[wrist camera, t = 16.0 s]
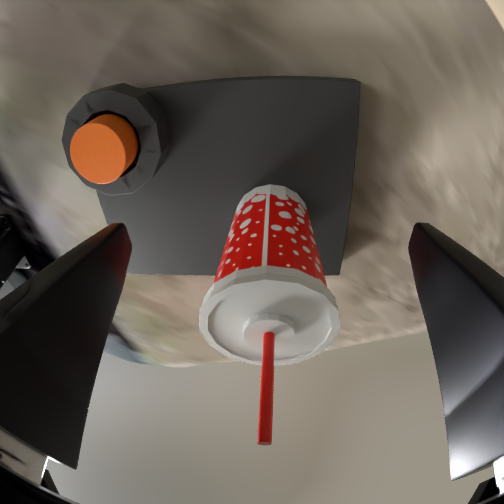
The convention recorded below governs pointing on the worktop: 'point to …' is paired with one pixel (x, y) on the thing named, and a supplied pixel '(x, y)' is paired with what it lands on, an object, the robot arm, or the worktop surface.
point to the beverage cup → (270, 291)
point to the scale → (225, 162)
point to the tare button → (104, 148)
